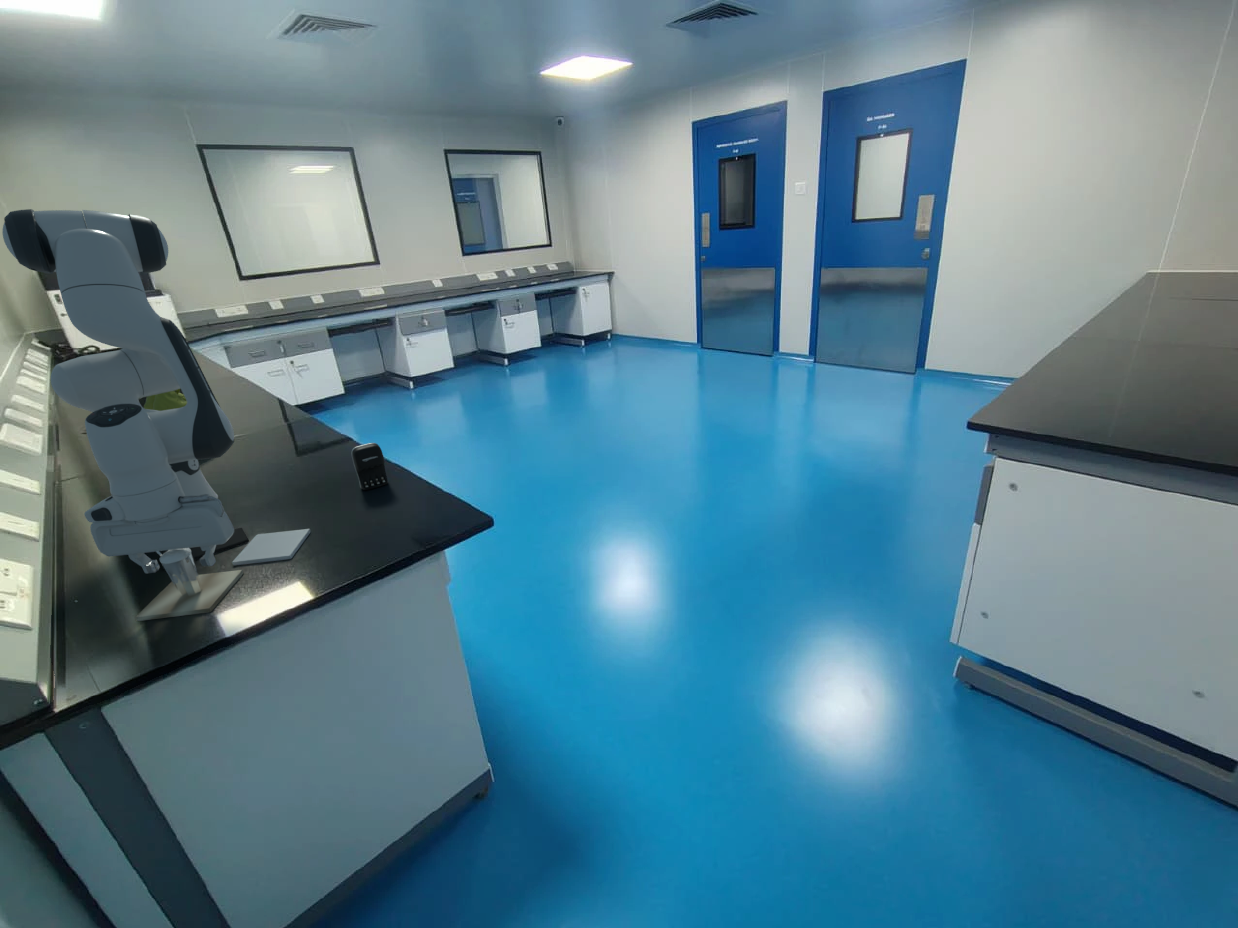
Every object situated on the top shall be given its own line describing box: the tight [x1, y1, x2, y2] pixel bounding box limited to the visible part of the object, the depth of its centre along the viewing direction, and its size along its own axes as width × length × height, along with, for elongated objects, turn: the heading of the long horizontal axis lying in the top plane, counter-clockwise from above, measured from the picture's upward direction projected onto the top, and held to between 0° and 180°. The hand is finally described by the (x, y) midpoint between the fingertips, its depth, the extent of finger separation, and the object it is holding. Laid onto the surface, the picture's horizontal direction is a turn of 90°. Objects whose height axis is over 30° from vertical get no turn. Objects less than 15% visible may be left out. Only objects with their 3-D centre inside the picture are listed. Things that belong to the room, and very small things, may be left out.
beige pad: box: [134, 569, 244, 622], centre depth 101 cm, size 12×12×1 cm
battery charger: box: [351, 442, 389, 491], centre depth 139 cm, size 7×4×11 cm, turn 127°
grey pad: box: [231, 528, 312, 566], centre depth 115 cm, size 11×11×1 cm
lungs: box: [143, 388, 187, 411], centre depth 169 cm, size 25×16×24 cm, turn 48°
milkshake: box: [155, 548, 202, 598], centre depth 98 cm, size 4×5×10 cm
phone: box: [158, 527, 250, 571], centre depth 116 cm, size 8×1×15 cm
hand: (181, 567), depth 98 cm, fingers open, 8 cm apart
